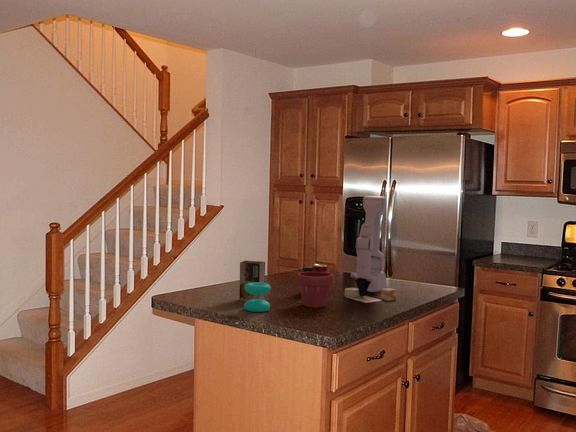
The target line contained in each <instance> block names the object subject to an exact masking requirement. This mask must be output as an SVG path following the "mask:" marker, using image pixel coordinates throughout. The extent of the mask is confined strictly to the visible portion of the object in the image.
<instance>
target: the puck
mask: <svg viewBox="0 0 576 432" xmlns="http://www.w3.org/2000/svg"><path fill="white" fill-rule="evenodd" d="M345 296H346V297H345ZM344 297H345V298H347V297H350V298H349V299H351V298H361V296H360V294H359V289H358V287H346V288H345V289H344Z"/></svg>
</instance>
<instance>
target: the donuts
mask: <svg viewBox="0 0 576 432" xmlns="http://www.w3.org/2000/svg"><path fill="white" fill-rule="evenodd" d="M271 288H272V287H271V285H270V284H269V283H266V282H265V283H259V282H255V283H248V284H246V285H245V291H246V292H247V293H249V294H254V295H262V294H264V295H266V294H268V293H270V292H271ZM243 308H244V309H245V310H246V311H248V312H251V313H265V312H267V311H270V308H271V304H270V302H268V301H267V300H265V299H264V300H260V299H254V300H249V301H245V302H244V304H243Z"/></svg>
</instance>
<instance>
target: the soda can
mask: <svg viewBox="0 0 576 432" xmlns="http://www.w3.org/2000/svg"><path fill="white" fill-rule="evenodd" d="M311 267H314V272H326V273H329V266H328V265H327V264H321V263H315V264H313V265H312V266H311Z"/></svg>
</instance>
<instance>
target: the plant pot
mask: <svg viewBox="0 0 576 432" xmlns="http://www.w3.org/2000/svg"><path fill="white" fill-rule="evenodd" d="M333 277H334V276H333V274H332V273H330V272H328V273H326V272H303V271H302V272H298V273H297V283H298V284H299V291H300V290H301V294H300V296H301V300H302V305H303V306H304V307H307V308H308V307H309V308H324V307H326V306H327V301H328V296H329V293H330V288H331V285H332V284H333Z"/></svg>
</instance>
